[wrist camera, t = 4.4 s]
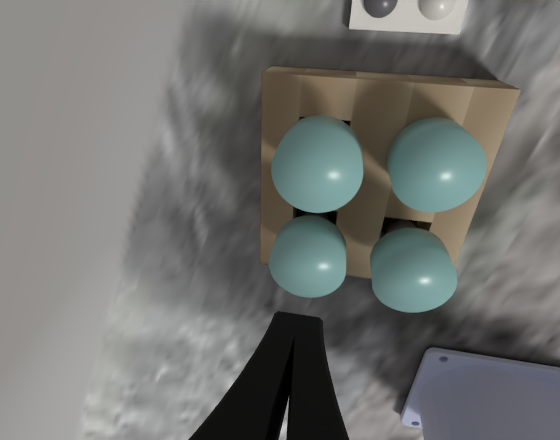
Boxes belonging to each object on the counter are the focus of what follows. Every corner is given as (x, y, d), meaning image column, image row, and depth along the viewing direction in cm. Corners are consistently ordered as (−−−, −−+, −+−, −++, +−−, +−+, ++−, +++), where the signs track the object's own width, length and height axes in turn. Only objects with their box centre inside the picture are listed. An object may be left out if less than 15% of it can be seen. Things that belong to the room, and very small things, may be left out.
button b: (351, 197, 15) (351, 241, 12) (342, 252, 17) (340, 302, 14) (284, 190, 16) (269, 231, 13) (281, 244, 17) (267, 291, 14)
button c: (467, 107, 14) (500, 133, 11) (446, 177, 15) (469, 216, 12) (390, 101, 14) (400, 125, 11) (376, 170, 16) (382, 207, 13)
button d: (365, 105, 13) (370, 131, 10) (354, 177, 15) (355, 217, 12) (288, 99, 14) (272, 122, 11) (285, 170, 15) (270, 207, 12)
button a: (444, 207, 15) (468, 256, 12) (426, 263, 16) (443, 318, 13) (373, 200, 15) (380, 245, 12) (362, 254, 17) (365, 306, 14)
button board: (499, 80, 13) (521, 89, 12) (436, 263, 18) (445, 289, 16) (272, 65, 14) (262, 72, 13) (267, 241, 19) (260, 263, 17)
